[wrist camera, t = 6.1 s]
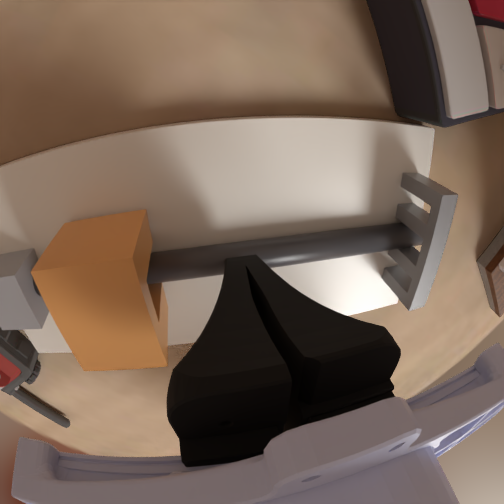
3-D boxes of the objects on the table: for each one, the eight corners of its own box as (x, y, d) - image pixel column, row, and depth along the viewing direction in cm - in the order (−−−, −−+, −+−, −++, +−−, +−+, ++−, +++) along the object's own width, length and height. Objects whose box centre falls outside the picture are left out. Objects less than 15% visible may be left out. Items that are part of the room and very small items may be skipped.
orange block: (168, 306, 15) (167, 366, 12) (98, 314, 14) (84, 371, 11) (146, 209, 12) (132, 257, 9) (64, 222, 11) (30, 271, 8)
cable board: (390, 294, 20) (421, 333, 16) (42, 342, 16) (26, 390, 13) (423, 125, 14) (477, 144, 10) (-29, 176, 10) (-75, 208, 6)
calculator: (552, 105, 10) (453, 133, 10) (512, 93, 14) (393, 117, 13) (524, -28, 4) (384, -92, 4) (484, -27, 8) (336, -64, 7)
